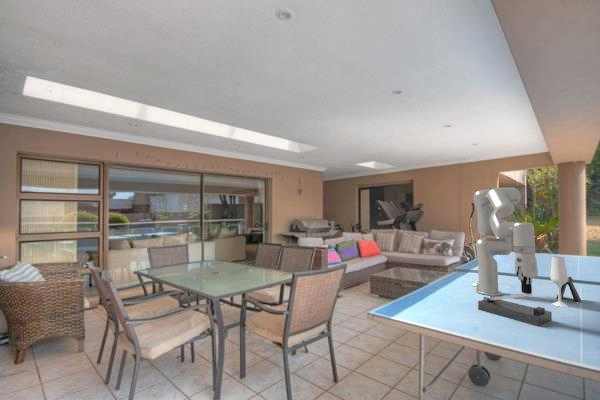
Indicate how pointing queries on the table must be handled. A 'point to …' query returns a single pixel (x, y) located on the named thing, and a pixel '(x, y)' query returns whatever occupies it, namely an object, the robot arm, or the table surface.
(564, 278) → the champagne flute
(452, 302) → the table surface
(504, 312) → the block
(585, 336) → the table surface
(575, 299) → the phone stand
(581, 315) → the table surface
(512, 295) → the strap
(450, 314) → the table surface
